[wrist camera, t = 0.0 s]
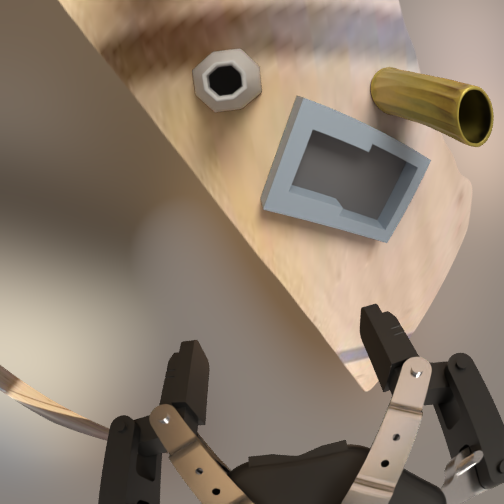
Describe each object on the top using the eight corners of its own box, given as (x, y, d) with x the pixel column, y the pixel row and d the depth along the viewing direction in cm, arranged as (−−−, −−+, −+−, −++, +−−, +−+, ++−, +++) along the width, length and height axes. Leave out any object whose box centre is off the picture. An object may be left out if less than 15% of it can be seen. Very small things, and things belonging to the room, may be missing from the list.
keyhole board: (296, 95, 25) (303, 97, 23) (418, 152, 29) (431, 160, 27) (260, 197, 33) (263, 209, 30) (378, 231, 37) (387, 243, 34)
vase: (396, 124, 27) (477, 165, 16) (360, 95, 25) (441, 120, 14) (418, 88, 24) (504, 115, 13) (384, 57, 22) (471, 65, 11)
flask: (273, 95, 25) (292, 105, 17) (211, 122, 27) (201, 144, 19) (244, 38, 21) (251, 19, 13) (181, 67, 23) (156, 63, 15)
